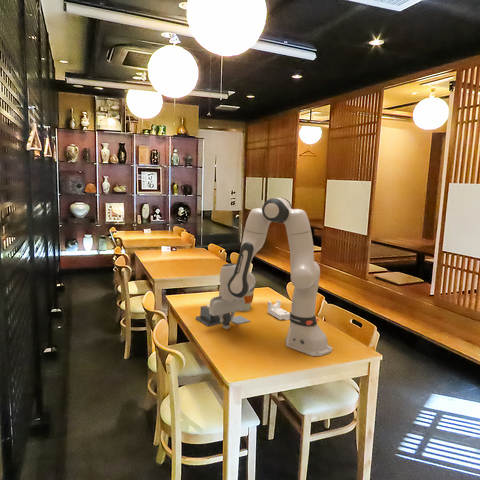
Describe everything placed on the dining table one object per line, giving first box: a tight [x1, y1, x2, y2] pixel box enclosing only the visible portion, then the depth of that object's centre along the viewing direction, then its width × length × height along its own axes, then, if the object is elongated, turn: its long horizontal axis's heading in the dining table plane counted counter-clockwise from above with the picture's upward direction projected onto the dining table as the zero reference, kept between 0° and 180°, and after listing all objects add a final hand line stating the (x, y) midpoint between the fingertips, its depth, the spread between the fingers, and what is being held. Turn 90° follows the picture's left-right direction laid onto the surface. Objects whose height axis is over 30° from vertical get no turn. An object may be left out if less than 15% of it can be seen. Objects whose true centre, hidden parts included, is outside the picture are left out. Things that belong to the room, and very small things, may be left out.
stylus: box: [222, 313, 231, 330], centre depth 196 cm, size 3×3×8 cm
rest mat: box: [230, 315, 251, 326], centre depth 208 cm, size 9×9×1 cm
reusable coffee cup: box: [240, 286, 255, 312], centre depth 226 cm, size 13×13×15 cm
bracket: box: [267, 299, 290, 321], centre depth 217 cm, size 13×7×8 cm, turn 28°
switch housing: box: [195, 305, 223, 328], centre depth 205 cm, size 12×14×7 cm
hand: (226, 321), depth 196 cm, fingers open, 4 cm apart
